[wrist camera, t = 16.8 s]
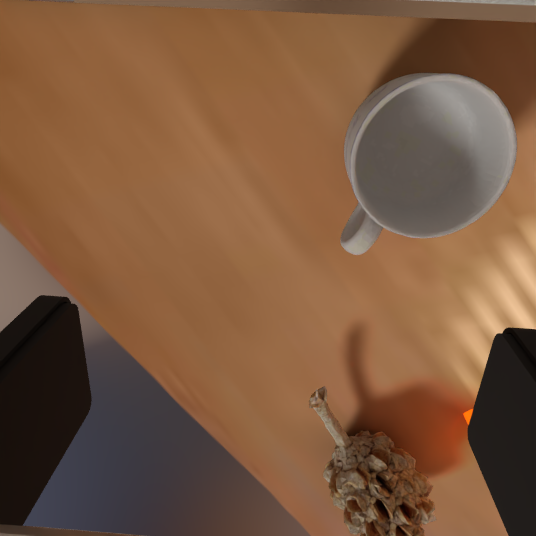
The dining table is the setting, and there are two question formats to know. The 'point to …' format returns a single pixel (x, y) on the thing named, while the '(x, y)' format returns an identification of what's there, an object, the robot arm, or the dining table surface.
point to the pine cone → (374, 481)
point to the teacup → (426, 157)
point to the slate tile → (56, 0)
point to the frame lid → (366, 7)
